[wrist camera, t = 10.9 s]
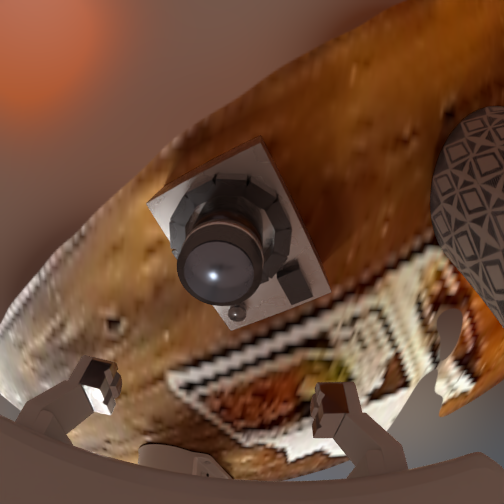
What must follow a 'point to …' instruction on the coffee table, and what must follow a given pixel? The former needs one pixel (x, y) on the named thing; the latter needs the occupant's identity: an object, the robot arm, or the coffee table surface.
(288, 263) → the camera body
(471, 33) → the coffee table surface
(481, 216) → the planter
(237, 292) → the lens
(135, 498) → the robot arm
